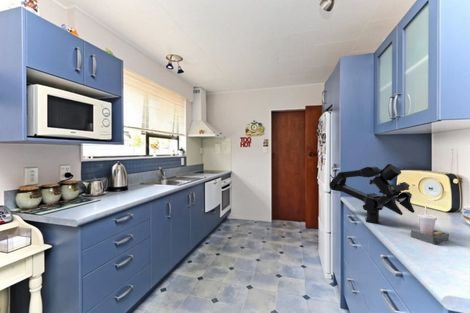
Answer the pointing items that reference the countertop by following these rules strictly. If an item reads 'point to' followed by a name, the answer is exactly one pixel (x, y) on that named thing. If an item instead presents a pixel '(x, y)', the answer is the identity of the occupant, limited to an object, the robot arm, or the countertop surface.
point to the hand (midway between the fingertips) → (408, 213)
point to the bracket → (431, 237)
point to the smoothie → (426, 223)
